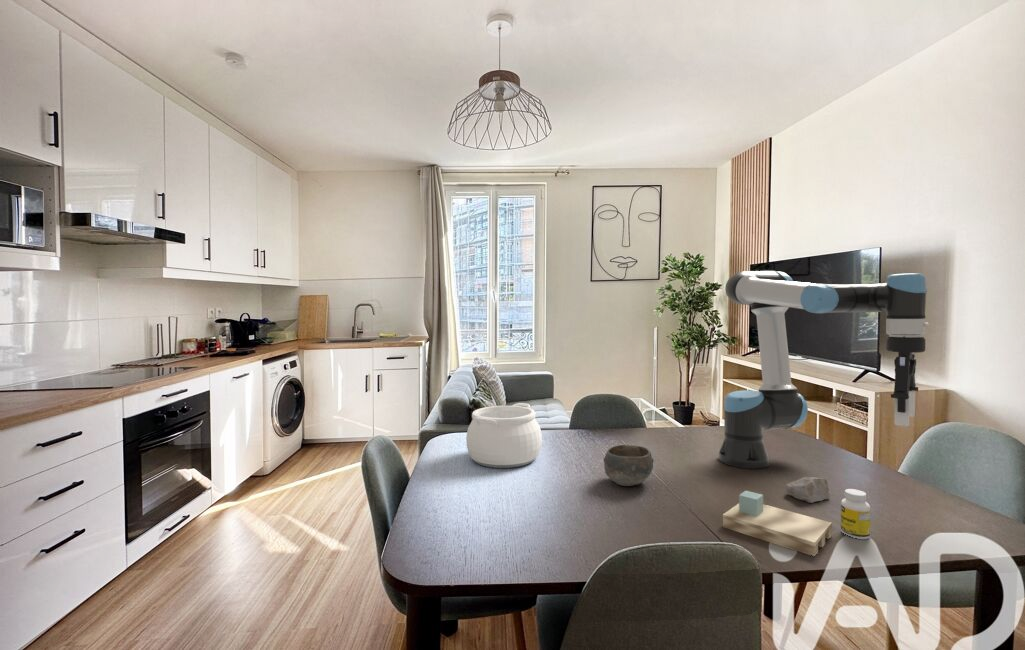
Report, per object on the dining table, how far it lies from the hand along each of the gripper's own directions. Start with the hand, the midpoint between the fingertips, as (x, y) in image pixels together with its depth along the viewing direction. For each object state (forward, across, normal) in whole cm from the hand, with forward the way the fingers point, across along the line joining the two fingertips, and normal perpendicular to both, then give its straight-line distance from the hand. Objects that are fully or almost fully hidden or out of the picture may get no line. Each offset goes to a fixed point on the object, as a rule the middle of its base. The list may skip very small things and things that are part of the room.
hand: (904, 420), depth 119 cm
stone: (+23, -6, +20) cm, 31 cm away
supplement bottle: (+23, -23, +7) cm, 33 cm away
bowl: (+23, -29, +61) cm, 72 cm away
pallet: (+23, -33, +20) cm, 45 cm away
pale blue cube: (+20, -33, +26) cm, 46 cm away
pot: (+23, -37, +105) cm, 114 cm away
